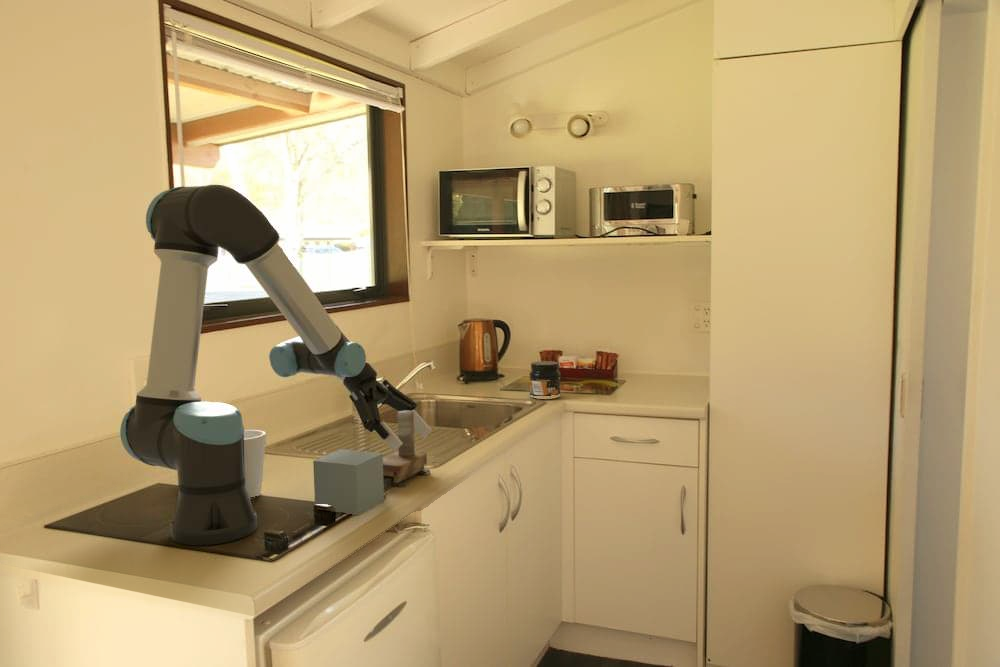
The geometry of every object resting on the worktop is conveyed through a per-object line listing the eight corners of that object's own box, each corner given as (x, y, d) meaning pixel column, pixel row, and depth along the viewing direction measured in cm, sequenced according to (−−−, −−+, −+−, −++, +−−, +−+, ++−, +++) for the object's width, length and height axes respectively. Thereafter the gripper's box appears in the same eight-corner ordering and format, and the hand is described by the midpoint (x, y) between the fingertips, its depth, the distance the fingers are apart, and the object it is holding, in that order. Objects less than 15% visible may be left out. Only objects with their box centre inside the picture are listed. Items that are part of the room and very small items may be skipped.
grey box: (344, 495, 171) (342, 448, 170) (385, 500, 167) (383, 452, 166) (315, 509, 162) (313, 460, 161) (357, 515, 158) (356, 465, 157)
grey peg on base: (400, 483, 176) (398, 421, 174) (372, 480, 178) (370, 418, 177) (426, 469, 187) (425, 410, 185) (400, 466, 189) (398, 408, 188)
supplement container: (533, 401, 272) (533, 365, 270) (526, 395, 282) (526, 361, 281) (564, 399, 274) (563, 364, 272) (556, 394, 284) (555, 360, 283)
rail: (380, 500, 167) (380, 490, 167) (347, 495, 170) (347, 486, 170) (429, 472, 187) (429, 464, 187) (399, 469, 190) (399, 461, 190)
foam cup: (245, 486, 179) (242, 428, 177) (277, 491, 174) (275, 432, 173) (212, 498, 170) (209, 437, 169) (245, 504, 166) (241, 441, 165)
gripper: (332, 369, 175) (395, 442, 171) (391, 354, 198) (448, 418, 194) (313, 392, 178) (374, 465, 174) (373, 374, 201) (429, 438, 197)
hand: (413, 440), depth 184 cm, fingers open, 13 cm apart
